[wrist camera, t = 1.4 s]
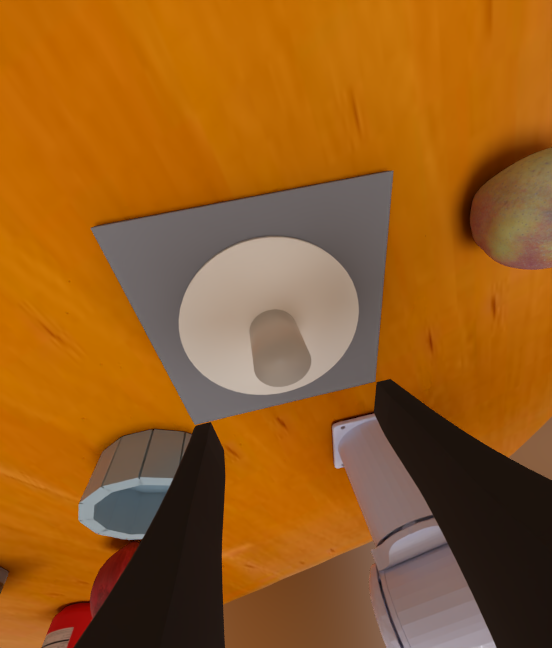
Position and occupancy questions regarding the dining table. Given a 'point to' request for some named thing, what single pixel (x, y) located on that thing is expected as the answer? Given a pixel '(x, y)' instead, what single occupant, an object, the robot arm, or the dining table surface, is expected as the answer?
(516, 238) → the apple
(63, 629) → the beverage can
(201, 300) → the lid
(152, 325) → the mat
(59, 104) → the dining table surface
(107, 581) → the onion
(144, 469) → the bowl
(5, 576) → the ceramic cup
